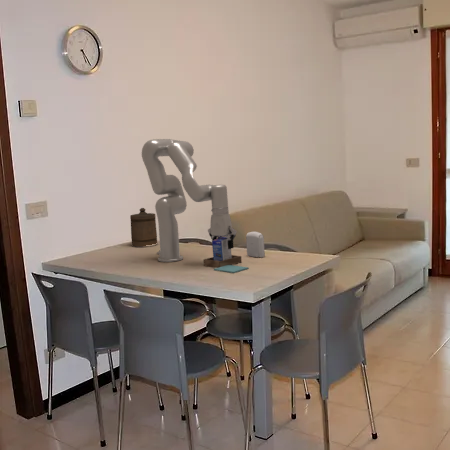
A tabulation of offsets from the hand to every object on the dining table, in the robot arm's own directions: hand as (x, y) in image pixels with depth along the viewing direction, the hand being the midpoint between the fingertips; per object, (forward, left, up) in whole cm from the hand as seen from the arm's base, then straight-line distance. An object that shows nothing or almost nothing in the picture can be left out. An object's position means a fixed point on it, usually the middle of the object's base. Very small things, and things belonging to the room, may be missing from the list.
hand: (223, 247), depth 260 cm
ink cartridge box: (-1, 0, -8) cm, 8 cm away
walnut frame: (-1, 0, -8) cm, 8 cm away
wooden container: (-80, +18, -8) cm, 82 cm away
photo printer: (+1, +22, -8) cm, 23 cm away
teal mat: (+11, -7, -8) cm, 15 cm away
